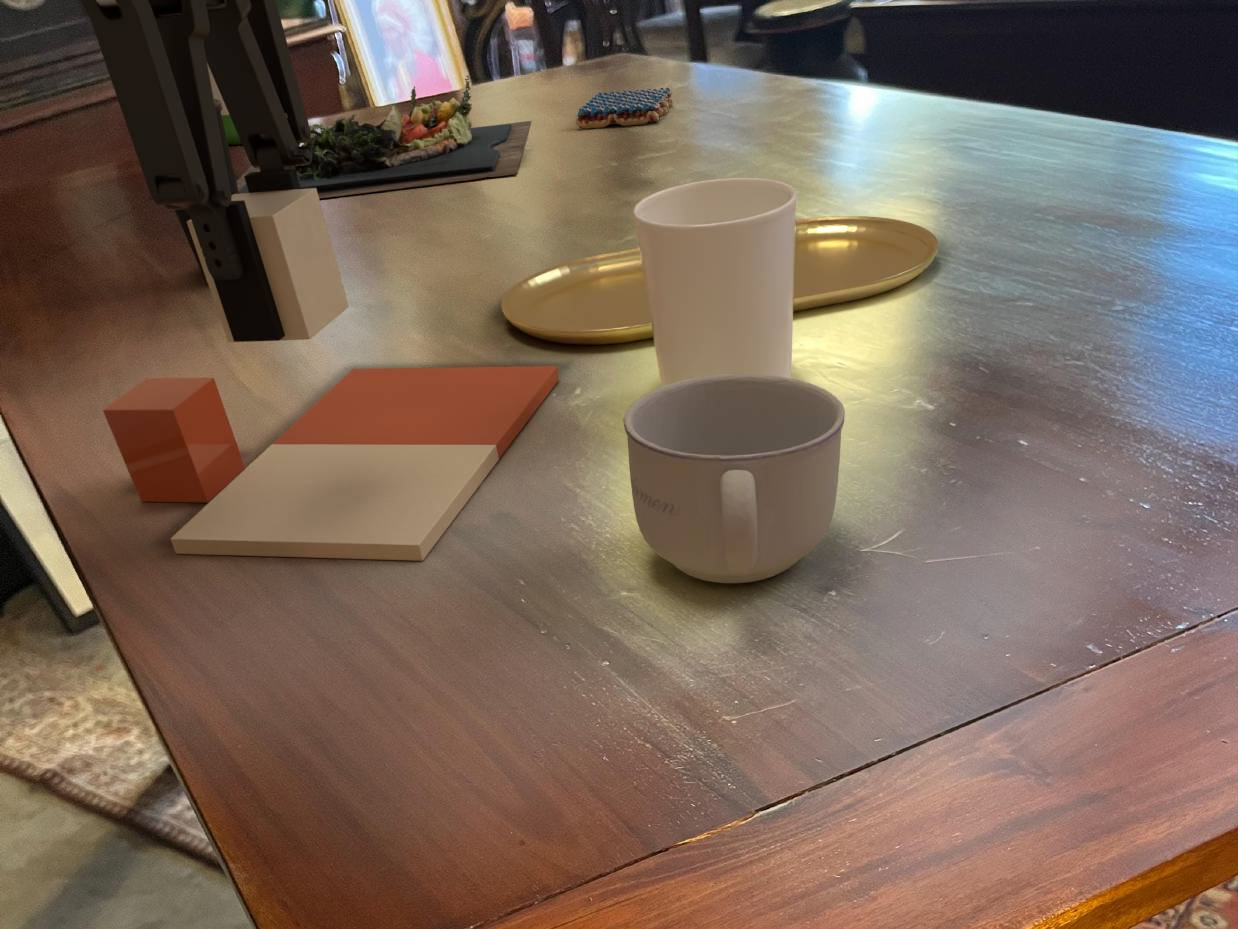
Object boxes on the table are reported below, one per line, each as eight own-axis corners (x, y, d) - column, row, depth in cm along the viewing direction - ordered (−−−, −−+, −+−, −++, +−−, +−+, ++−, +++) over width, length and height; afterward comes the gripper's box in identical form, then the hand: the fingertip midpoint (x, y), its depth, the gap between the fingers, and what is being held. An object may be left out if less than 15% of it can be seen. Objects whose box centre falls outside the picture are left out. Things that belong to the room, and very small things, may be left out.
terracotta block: (140, 502, 78) (102, 410, 74) (180, 467, 81) (145, 378, 77) (208, 503, 77) (173, 409, 72) (245, 468, 80) (214, 377, 76)
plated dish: (531, 119, 152) (520, 50, 147) (522, 179, 131) (509, 101, 126) (260, 157, 154) (240, 90, 149) (209, 222, 133) (184, 147, 128)
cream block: (227, 343, 65) (185, 221, 61) (270, 310, 69) (233, 193, 65) (310, 340, 64) (272, 215, 60) (349, 307, 68) (316, 187, 64)
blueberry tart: (677, 104, 149) (675, 85, 148) (658, 125, 142) (656, 105, 141) (596, 110, 152) (594, 91, 151) (573, 131, 144) (571, 111, 143)
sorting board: (175, 554, 72) (169, 538, 71) (356, 382, 90) (352, 368, 89) (423, 561, 68) (418, 544, 67) (559, 379, 86) (557, 365, 85)
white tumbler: (794, 430, 75) (788, 219, 67) (641, 434, 77) (617, 230, 69) (808, 369, 82) (804, 172, 74) (667, 375, 84) (648, 183, 76)
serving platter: (491, 294, 102) (488, 274, 101) (887, 223, 105) (888, 203, 104) (521, 370, 88) (517, 348, 87) (976, 285, 91) (977, 263, 90)
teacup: (663, 508, 69) (648, 367, 64) (853, 508, 67) (854, 361, 62) (607, 640, 60) (583, 486, 54) (827, 644, 57) (825, 484, 52)
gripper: (59, -267, 43) (268, 383, 59) (286, -274, 56) (409, 264, 72) (-110, -238, 45) (137, 385, 61) (146, -251, 58) (296, 268, 74)
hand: (283, 318), depth 66 cm, fingers closed on cream block, 5 cm apart
